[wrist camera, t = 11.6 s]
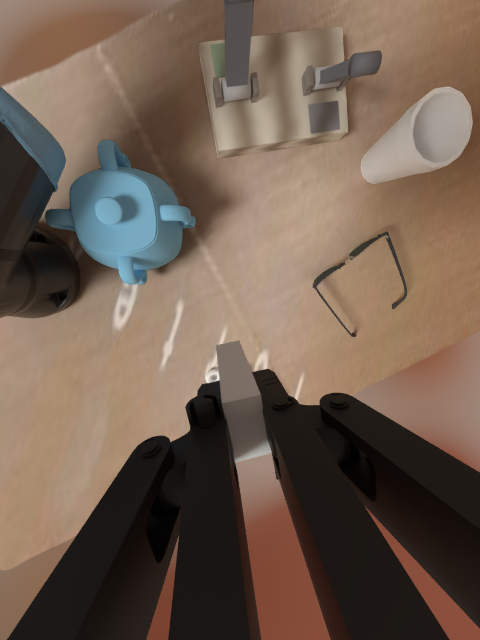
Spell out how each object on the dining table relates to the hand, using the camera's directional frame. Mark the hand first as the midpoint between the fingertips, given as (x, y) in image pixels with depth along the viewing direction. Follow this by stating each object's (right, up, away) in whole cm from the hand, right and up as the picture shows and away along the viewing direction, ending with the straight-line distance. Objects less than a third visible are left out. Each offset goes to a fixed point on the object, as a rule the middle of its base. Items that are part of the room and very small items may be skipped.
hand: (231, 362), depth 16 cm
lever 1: (0, +37, +21) cm, 42 cm away
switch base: (+6, +39, +25) cm, 47 cm away
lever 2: (+13, +40, +22) cm, 48 cm away
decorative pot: (-17, +19, +27) cm, 37 cm away
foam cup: (+26, +32, +30) cm, 50 cm away
